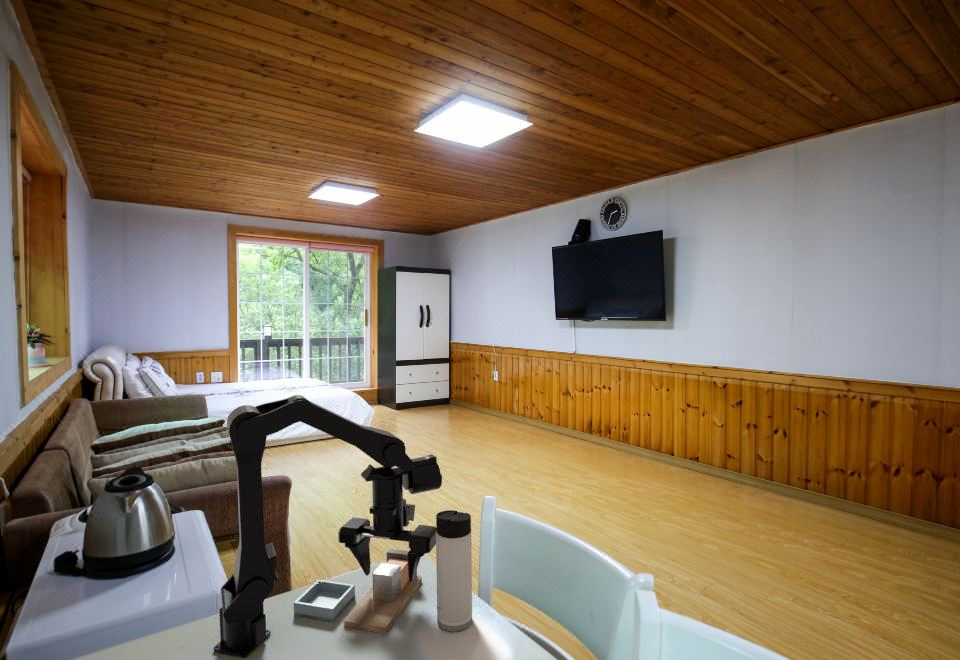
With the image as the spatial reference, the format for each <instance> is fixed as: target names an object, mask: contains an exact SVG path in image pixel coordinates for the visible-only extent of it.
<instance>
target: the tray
mask: <svg viewBox="0 0 960 660" xmlns="http://www.w3.org/2000/svg"><path fill="white" fill-rule="evenodd" d="M324 581H325V582H324ZM321 582H322V583H321ZM317 583H319V584H317ZM313 584H316V585H313ZM313 584H312V585H310V587H308V589H307V590H305V591H304V592H303V593H302V594H301V595H300V596H299V597H298V598H297V599H295V601H294V602H293V616H294V617H297V618H298V617H299V618H304V619H310V620H316V621H321V622H328V623H332V624H333V623H335V621H336V620H337V619H338V618H339V616H340V615H341V614H342V613H343V612H344V611H345V610H346V609H347V607H348V606H349V605H350V604H351V603H352V601H354V599H355V598H356V585H355V584H350V583H344V582H339V581H338V582H337V581H331V580H324V579H317V580H316V581H315V582H314V583H313Z"/></svg>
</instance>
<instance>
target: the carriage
mask: <svg viewBox="0 0 960 660" xmlns="http://www.w3.org/2000/svg"><path fill="white" fill-rule="evenodd" d="M372 587H373V599H375V600H381V601H388V602H393V601H394V600H395V598H396V597H397V595H398V594H399V593H400V591H401V566H400V565H393V564H386V563H383V562H381V563H380V565H378V567H377V568H376V569H375V570H374V571H373V573H372Z"/></svg>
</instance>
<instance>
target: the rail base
mask: <svg viewBox="0 0 960 660" xmlns="http://www.w3.org/2000/svg"><path fill="white" fill-rule="evenodd" d="M409 551H410V550H404V549H403V550H402V549H395V548H389V549H388V550H387V551H386V563H387V562H388V561H389V559H390V558H393V559H400V560H408V552H409ZM422 579H423V577H422V576H421V575H420V576H419V575H418V569H417V570H416V573H415V577H414V579H413V581H412V582H410V580H409V581H408V582H407V583H406V585H405V586H404V587H403V589H402V590H401V591H400V593H399V594H398V595H397V597H396V598H395V600H394V601H393V602H388V601H381V600H375V599H373V586H372V587H371V588H370V590H369V591H367V593H366V595H364V596H363V598H362V599H361V600H360V601H359V603H358V604H357V605H356V606H355V607H354V608H353V610H352V611H351V612H350V613H349V615H348V616H347V617H346V618H345V619H344V621H343V627H346V628H351V629H357V630H363V631H369V632H373V633H374V632H375V633H379V634H385V635H386V634H387V633H388V631H389V630H390V628H391V627H392V626H393V624H394V622H395V621H396V620H397V618H398V617H399V615H400V614H401V612H402V611H403V609H404V608H405V606H406V605H407V604H408V602H409V601H410V599H411V598H412V597H413V594H414V593H415V592H416V590H418V587H419V586H420V584H421V583H422Z"/></svg>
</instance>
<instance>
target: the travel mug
mask: <svg viewBox="0 0 960 660" xmlns="http://www.w3.org/2000/svg"><path fill="white" fill-rule="evenodd" d="M471 517H472V516H471V515H470V513H468V512H462V511H458V510H453V509H452V510H450V509H449V510H443V511H442V510H441V511H439V512H438V513H436V515H435V527H436V545H435V548H436V550H435V551H436V553H435V554H436V613H437V614H436V618H437V619H436V620H437V621H436V622H437V625H438V626H439V627H440V628H441V629H442V630H444V631H447V632H453V633H454V632H456V633H457V632H461V631H464V630H466V629H467V628H469V627H470V626H471V624H472V623H473V583H472V581H473V580H472V579H473V578H472V577H473V575H472V573H473V572H472V571H473V569H472V568H473V567H472V566H473V565H472V564H473V562H472V518H471Z"/></svg>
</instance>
